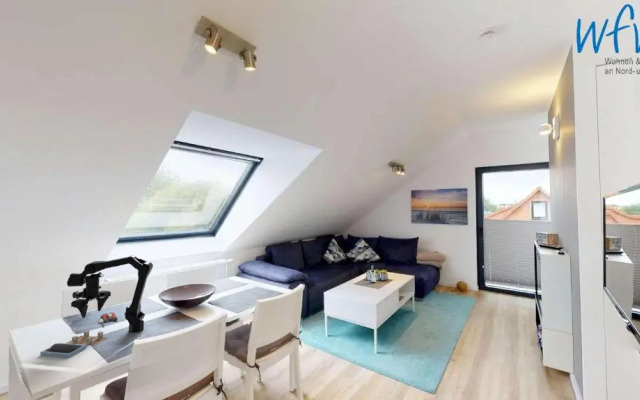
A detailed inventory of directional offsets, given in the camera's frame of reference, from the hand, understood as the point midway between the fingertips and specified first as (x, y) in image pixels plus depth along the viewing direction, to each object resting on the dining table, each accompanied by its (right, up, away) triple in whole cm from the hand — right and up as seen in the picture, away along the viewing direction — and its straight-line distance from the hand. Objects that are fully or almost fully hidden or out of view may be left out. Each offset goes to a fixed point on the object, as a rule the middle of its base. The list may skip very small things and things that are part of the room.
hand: (91, 314), depth 153 cm
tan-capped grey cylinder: (+1, -11, -18) cm, 21 cm away
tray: (+1, -12, -18) cm, 21 cm away
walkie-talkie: (-5, -13, +18) cm, 22 cm away
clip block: (+3, -12, -6) cm, 14 cm away
